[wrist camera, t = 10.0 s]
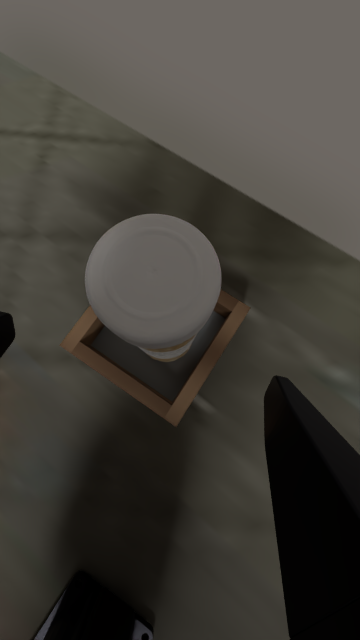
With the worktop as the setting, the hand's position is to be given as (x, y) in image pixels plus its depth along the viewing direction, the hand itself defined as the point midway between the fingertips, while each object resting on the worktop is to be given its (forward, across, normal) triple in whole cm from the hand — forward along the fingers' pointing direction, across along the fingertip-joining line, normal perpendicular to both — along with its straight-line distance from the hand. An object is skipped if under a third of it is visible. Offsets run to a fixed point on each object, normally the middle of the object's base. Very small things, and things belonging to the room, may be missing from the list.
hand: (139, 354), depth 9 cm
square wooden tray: (+11, +1, +7) cm, 13 cm away
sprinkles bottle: (+11, 0, +7) cm, 13 cm away
